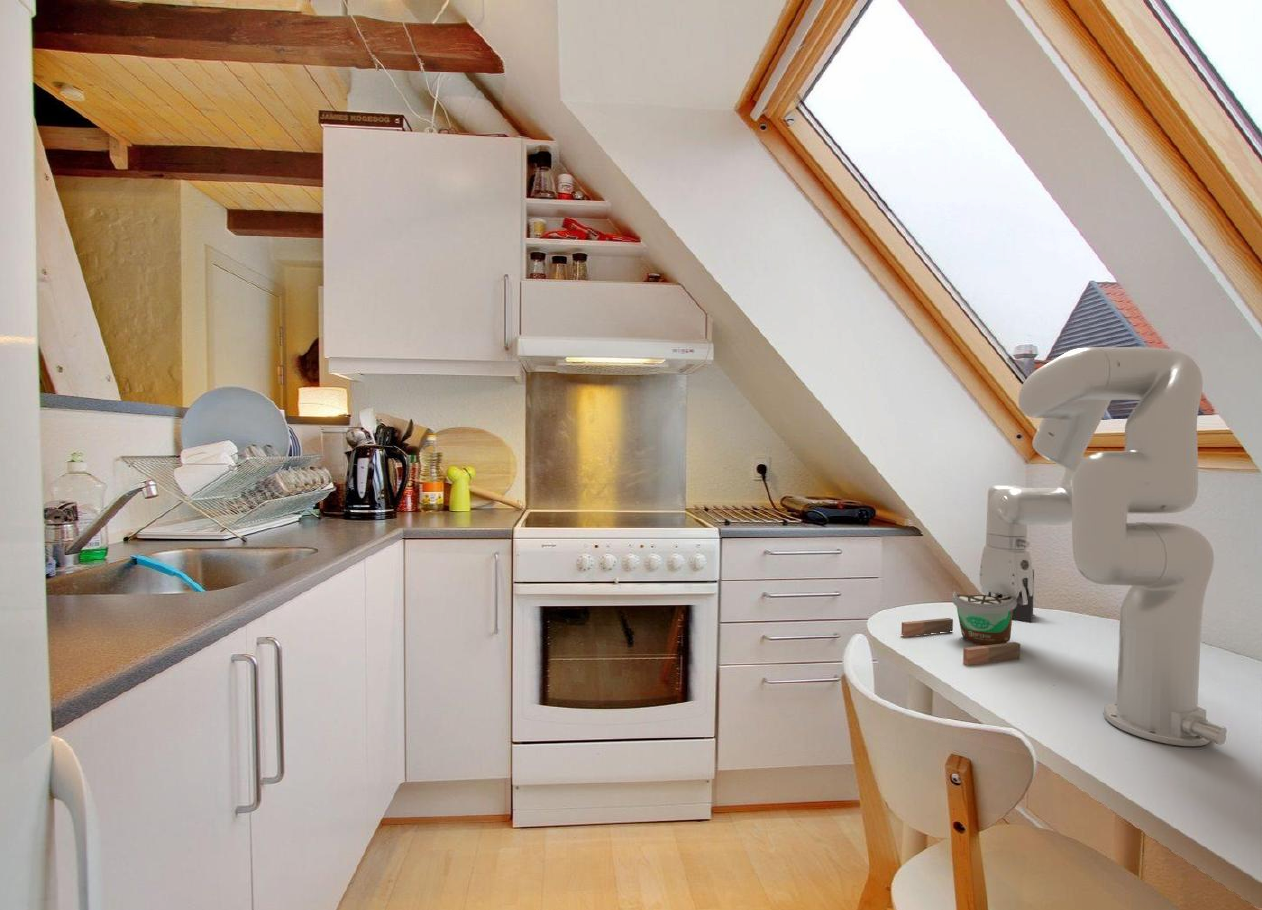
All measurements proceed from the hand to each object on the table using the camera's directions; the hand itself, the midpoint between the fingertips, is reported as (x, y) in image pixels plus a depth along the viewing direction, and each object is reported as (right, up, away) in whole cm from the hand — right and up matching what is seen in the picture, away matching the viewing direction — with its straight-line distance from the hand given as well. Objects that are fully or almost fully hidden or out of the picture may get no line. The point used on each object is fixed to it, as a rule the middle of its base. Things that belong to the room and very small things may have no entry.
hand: (1002, 625), depth 137 cm
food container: (-5, -3, -2) cm, 6 cm away
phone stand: (+15, -3, +19) cm, 24 cm away
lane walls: (-12, -3, -4) cm, 13 cm away
